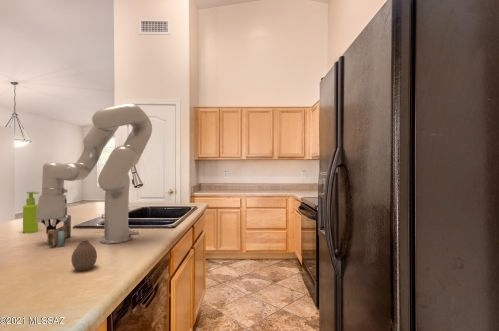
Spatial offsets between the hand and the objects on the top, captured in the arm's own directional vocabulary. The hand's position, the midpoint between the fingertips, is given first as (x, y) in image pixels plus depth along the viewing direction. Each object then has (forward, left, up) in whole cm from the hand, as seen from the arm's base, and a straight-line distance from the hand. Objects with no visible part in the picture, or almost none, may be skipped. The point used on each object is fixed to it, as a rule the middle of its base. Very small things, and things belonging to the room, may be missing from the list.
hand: (51, 235), depth 115 cm
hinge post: (-4, -9, -3) cm, 10 cm away
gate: (-3, +1, -2) cm, 4 cm away
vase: (-21, +37, -4) cm, 43 cm away
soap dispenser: (+16, -27, -4) cm, 32 cm away
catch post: (-5, +6, -3) cm, 9 cm away
